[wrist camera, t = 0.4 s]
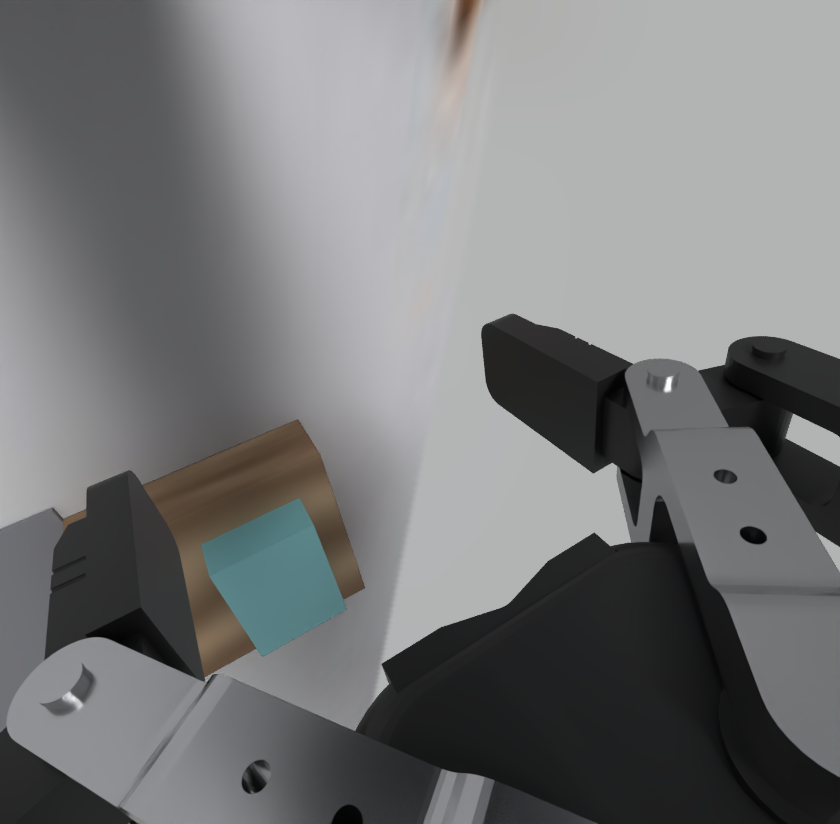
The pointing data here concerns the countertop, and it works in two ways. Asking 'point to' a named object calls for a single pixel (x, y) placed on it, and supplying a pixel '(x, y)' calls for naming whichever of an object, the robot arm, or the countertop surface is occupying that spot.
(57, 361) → the countertop surface
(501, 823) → the robot arm
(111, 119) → the countertop surface
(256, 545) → the teal foam pad
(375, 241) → the countertop surface
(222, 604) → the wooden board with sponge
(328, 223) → the countertop surface
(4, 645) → the mat
